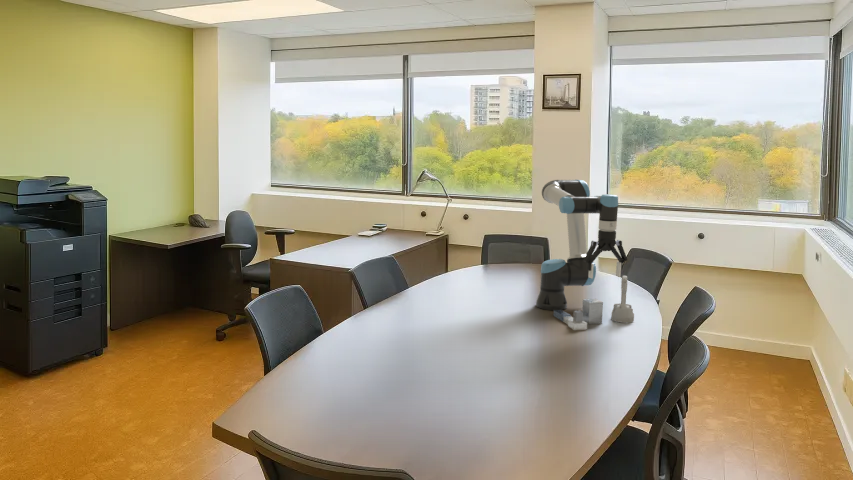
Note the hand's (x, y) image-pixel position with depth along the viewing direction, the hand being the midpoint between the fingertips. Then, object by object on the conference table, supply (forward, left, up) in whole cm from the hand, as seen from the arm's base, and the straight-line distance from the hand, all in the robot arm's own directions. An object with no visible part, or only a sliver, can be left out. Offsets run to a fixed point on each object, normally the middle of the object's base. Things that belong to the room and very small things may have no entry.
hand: (604, 277), depth 292 cm
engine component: (-7, +14, -22) cm, 27 cm away
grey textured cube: (-6, -2, -22) cm, 23 cm away
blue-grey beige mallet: (-7, -13, -22) cm, 26 cm away
